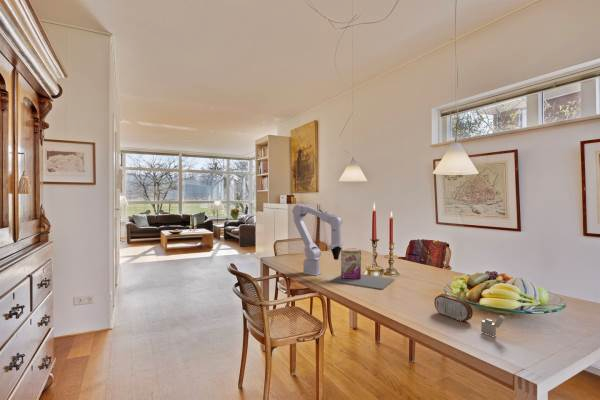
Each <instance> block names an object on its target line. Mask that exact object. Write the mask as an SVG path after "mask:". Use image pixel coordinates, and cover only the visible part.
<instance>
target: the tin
mask: <svg viewBox="0 0 600 400" xmlns="http://www.w3.org/2000/svg"><path fill="white" fill-rule="evenodd" d="M433 303H434V307H435V309H436V311H437V312H438V313H439V314H440V315H442V316H444V315H445V317H447V316H449V317H448V318H450V317H451V318H450V319H452V318H454V319H453V320H455V319H458V320H461V321H464V322H466V321H469V320H471V319H472V317H473V314H474V312H473V311H474V310H473V308H472V305H471V304H470V302H468V301H467V300H465V299H463V298H460V297H456V296H453V295H451V294H447V293H441V294H439V295H437V296H436V297H434V302H433ZM458 320H457V321H458ZM461 321H460V322H461Z"/></svg>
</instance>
